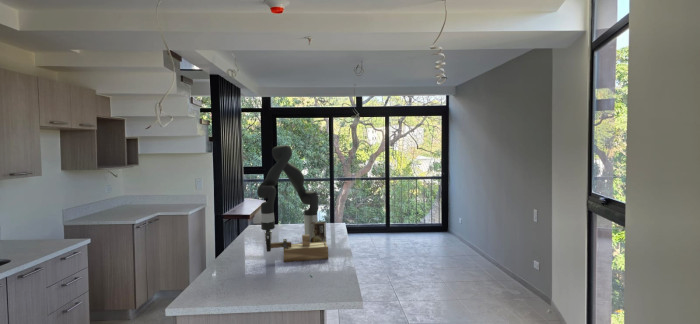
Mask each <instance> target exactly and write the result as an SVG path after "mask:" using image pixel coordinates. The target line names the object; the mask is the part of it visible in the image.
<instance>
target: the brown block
mask: <svg viewBox="0 0 700 324" xmlns="http://www.w3.org/2000/svg"><path fill="white" fill-rule="evenodd" d="M267 243H270V242H267ZM291 244H292V241H287V247H291ZM265 247H266V248H265V249H266V250H267V245H266V244H265ZM277 248H283V241H279V242H278V241H277V242H271V249H277Z"/></svg>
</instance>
